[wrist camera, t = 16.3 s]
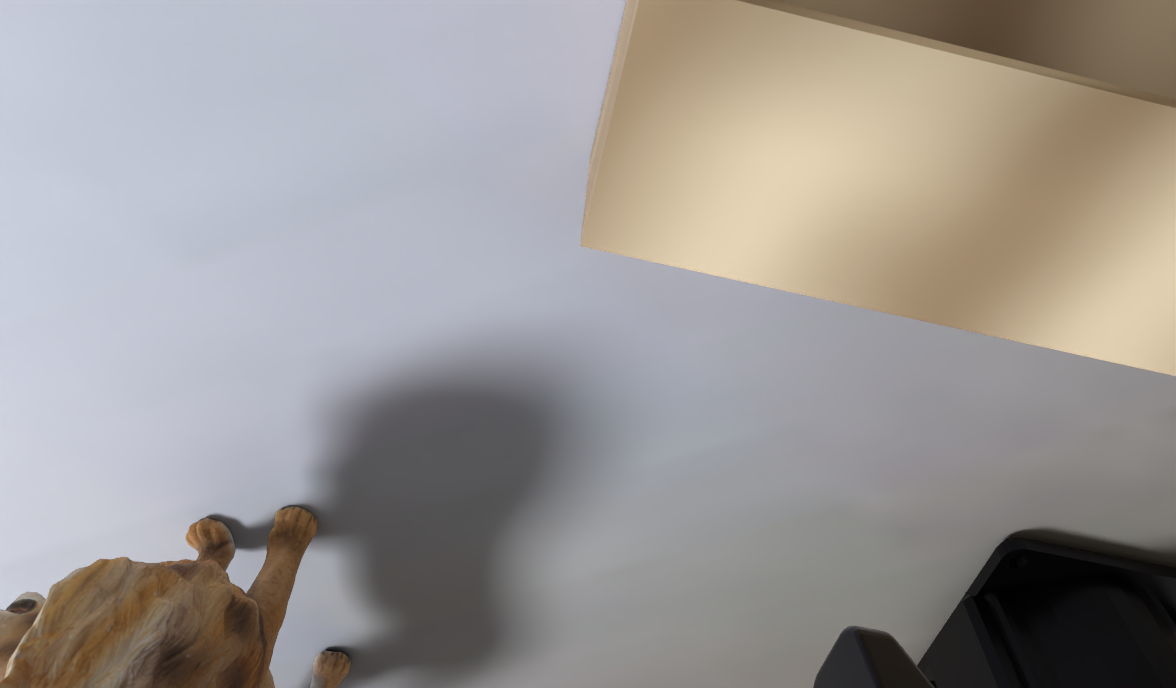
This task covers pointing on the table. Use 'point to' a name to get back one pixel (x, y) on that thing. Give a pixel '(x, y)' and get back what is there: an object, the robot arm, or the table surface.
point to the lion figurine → (163, 620)
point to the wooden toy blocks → (907, 160)
